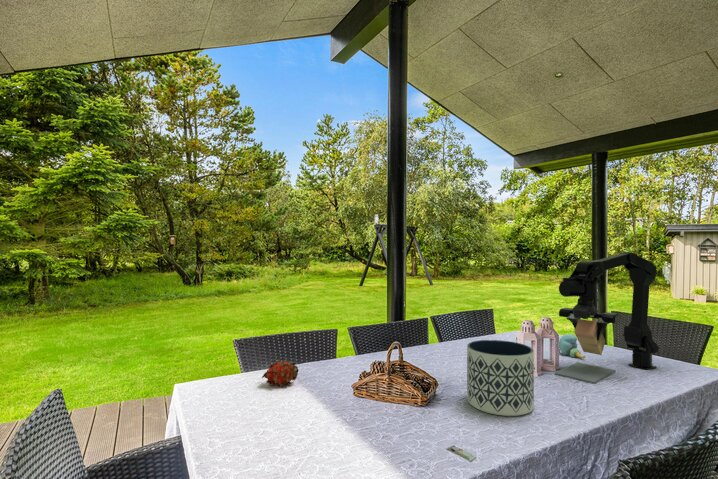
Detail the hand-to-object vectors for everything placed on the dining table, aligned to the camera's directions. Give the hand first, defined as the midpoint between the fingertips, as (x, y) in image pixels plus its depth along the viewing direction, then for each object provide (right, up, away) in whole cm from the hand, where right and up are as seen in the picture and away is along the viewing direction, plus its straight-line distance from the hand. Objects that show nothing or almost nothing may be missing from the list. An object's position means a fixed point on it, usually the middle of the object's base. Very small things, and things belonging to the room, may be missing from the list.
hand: (588, 338), depth 145 cm
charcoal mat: (-2, -12, -2) cm, 12 cm away
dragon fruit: (-109, -12, -14) cm, 111 cm away
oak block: (+4, -4, +4) cm, 7 cm away
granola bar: (-61, -12, -57) cm, 84 cm away
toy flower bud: (+5, -13, +20) cm, 24 cm away
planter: (-43, -12, -30) cm, 53 cm away
